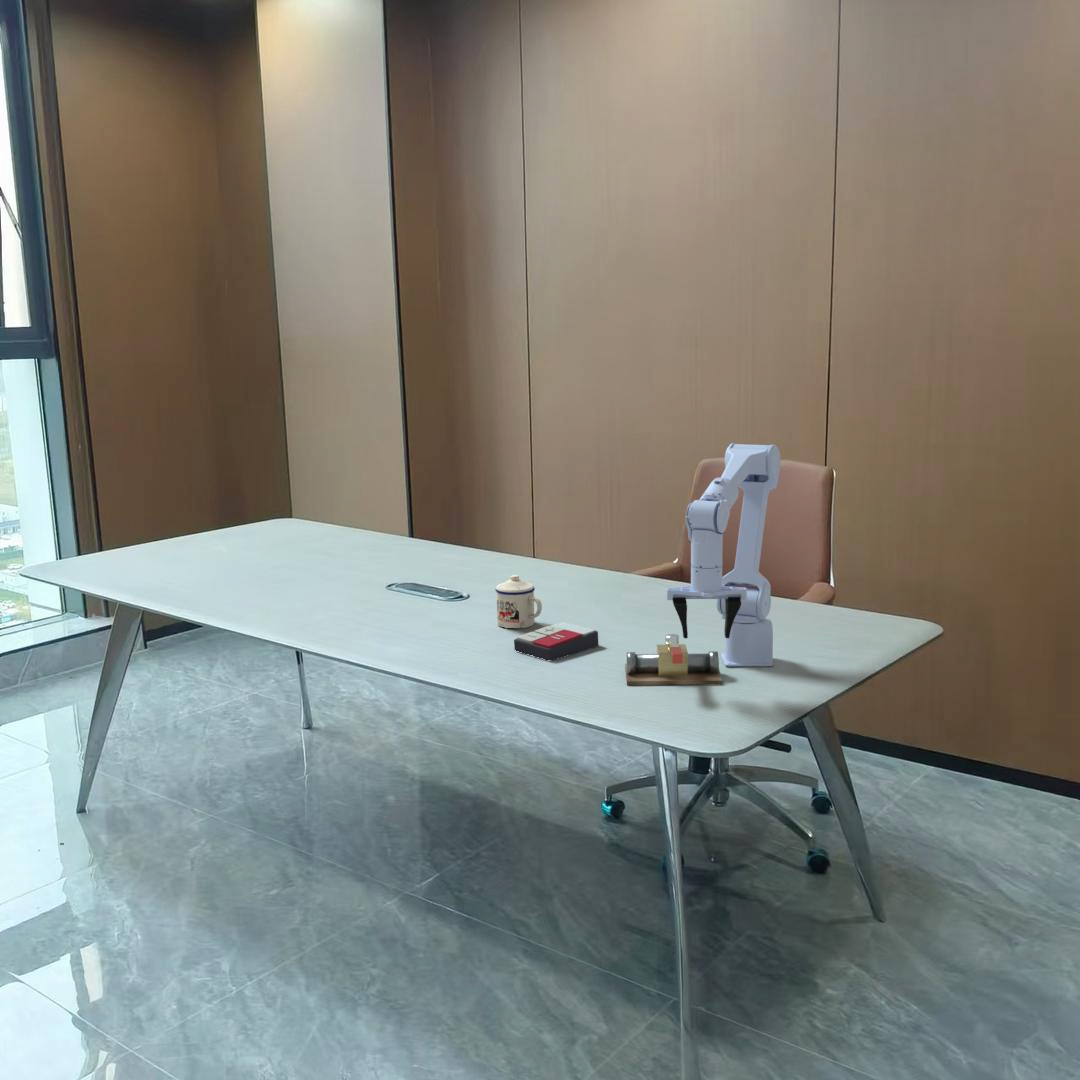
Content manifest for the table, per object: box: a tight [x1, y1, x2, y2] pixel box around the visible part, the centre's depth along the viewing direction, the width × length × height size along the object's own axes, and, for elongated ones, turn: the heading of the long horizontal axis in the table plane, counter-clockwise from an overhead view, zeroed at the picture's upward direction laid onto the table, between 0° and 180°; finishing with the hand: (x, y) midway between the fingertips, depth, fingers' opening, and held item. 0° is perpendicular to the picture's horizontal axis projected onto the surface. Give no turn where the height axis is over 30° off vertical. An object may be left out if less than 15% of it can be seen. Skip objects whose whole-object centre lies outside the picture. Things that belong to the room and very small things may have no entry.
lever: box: [664, 633, 683, 664], centre depth 202 cm, size 3×14×2 cm, turn 178°
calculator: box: [513, 621, 599, 661], centre depth 229 cm, size 11×4×15 cm
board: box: [624, 663, 723, 686], centre depth 209 cm, size 18×11×1 cm, turn 88°
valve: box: [626, 643, 720, 676], centre depth 209 cm, size 18×5×6 cm, turn 87°
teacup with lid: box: [495, 574, 543, 629], centre depth 247 cm, size 12×9×12 cm
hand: (706, 636), depth 199 cm, fingers open, 7 cm apart
